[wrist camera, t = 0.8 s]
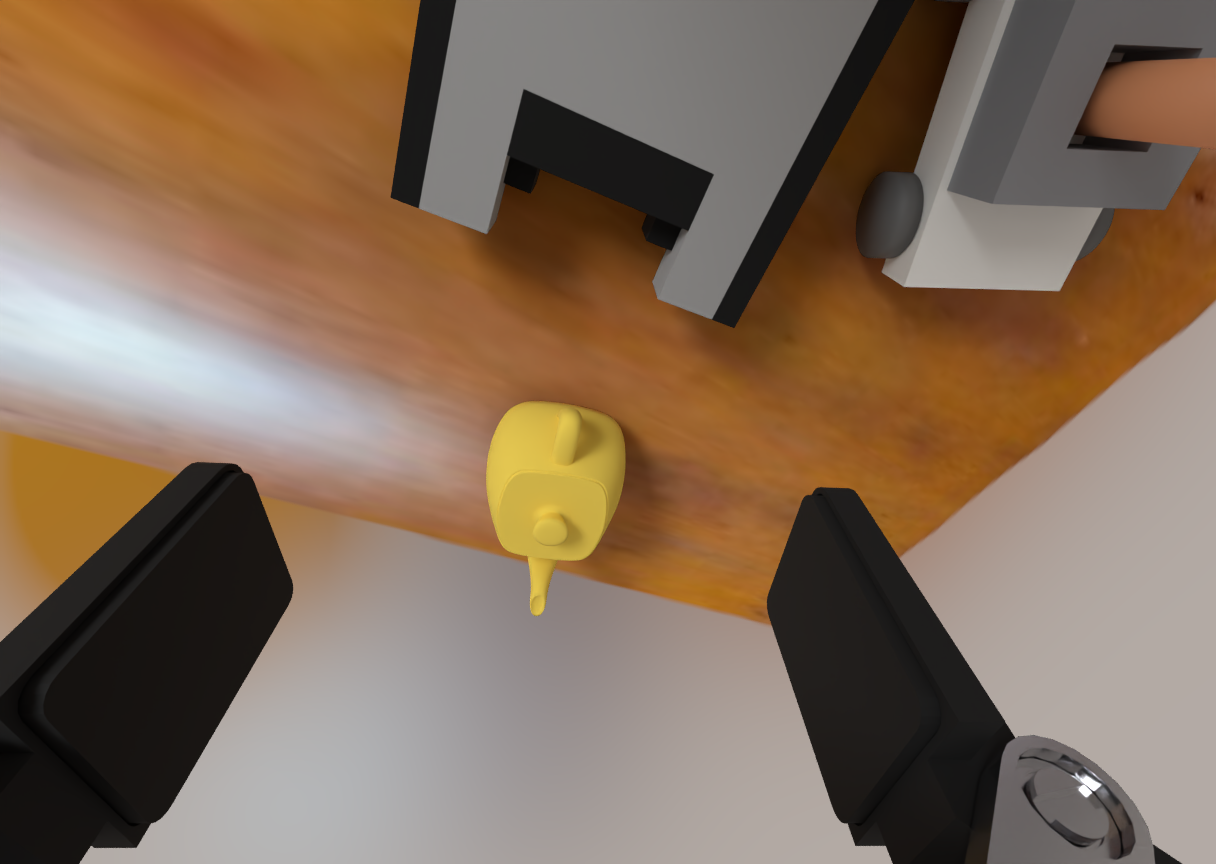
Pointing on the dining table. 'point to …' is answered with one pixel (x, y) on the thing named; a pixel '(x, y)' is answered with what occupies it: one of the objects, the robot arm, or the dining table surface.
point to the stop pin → (1154, 102)
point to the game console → (642, 117)
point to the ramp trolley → (1029, 146)
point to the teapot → (553, 484)
